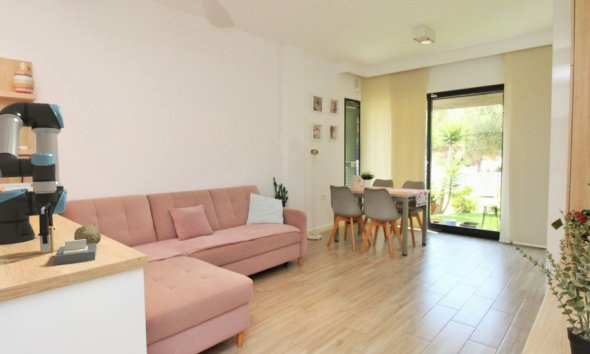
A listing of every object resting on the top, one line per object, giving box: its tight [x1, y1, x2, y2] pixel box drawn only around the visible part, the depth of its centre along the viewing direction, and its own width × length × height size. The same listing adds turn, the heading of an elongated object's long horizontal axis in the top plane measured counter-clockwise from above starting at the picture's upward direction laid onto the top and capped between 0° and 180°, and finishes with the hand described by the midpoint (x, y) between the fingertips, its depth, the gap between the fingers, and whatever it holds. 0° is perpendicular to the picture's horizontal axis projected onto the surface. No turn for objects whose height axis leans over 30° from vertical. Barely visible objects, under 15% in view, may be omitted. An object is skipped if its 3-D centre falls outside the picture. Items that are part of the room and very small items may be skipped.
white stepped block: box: [63, 239, 88, 255], centre depth 123 cm, size 7×7×4 cm
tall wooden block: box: [39, 225, 56, 255], centre depth 134 cm, size 4×4×10 cm
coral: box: [73, 222, 102, 245], centre depth 143 cm, size 10×10×10 cm
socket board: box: [54, 243, 97, 266], centre depth 127 cm, size 15×12×3 cm
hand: (47, 249), depth 134 cm, fingers open, 8 cm apart
